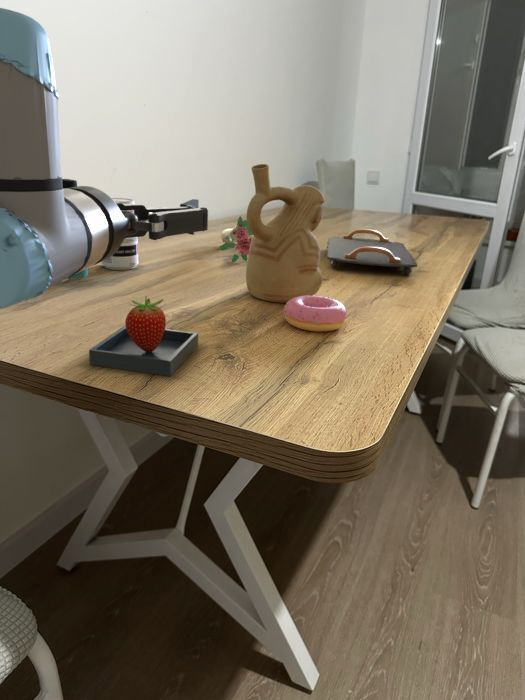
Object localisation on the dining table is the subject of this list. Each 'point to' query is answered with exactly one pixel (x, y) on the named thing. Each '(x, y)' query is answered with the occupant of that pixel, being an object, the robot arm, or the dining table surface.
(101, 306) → the dining table surface
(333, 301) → the doughnut
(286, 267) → the ceramic vessel
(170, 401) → the dining table surface
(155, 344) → the fruit
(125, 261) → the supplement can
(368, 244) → the serving tray
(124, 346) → the dark gray square tray
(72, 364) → the dining table surface
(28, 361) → the dining table surface
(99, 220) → the robot arm
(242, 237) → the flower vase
